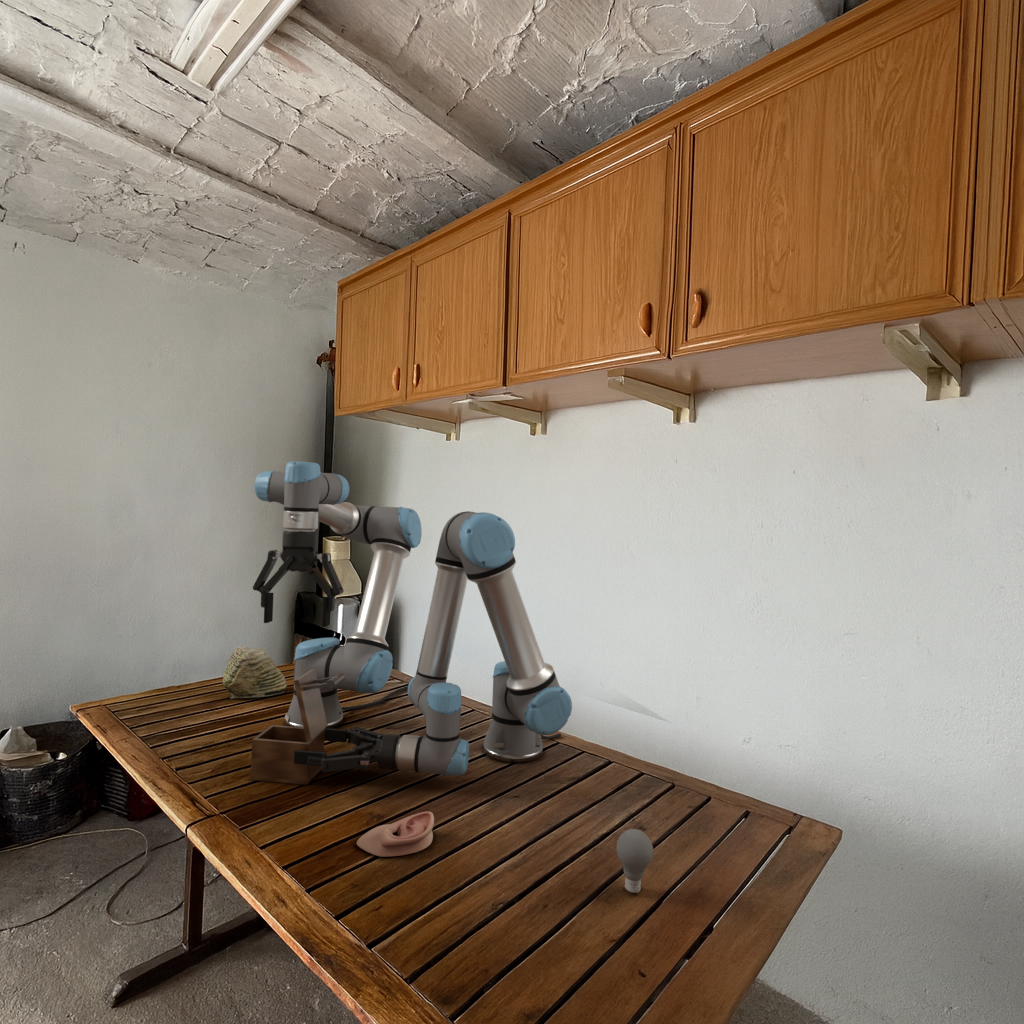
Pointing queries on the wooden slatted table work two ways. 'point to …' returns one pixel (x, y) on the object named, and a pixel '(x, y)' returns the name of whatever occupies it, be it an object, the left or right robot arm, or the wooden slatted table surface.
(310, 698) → the lid
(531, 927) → the wooden slatted table surface
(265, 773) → the chest
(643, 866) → the light bulb
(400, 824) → the anatomical model
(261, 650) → the fossil
